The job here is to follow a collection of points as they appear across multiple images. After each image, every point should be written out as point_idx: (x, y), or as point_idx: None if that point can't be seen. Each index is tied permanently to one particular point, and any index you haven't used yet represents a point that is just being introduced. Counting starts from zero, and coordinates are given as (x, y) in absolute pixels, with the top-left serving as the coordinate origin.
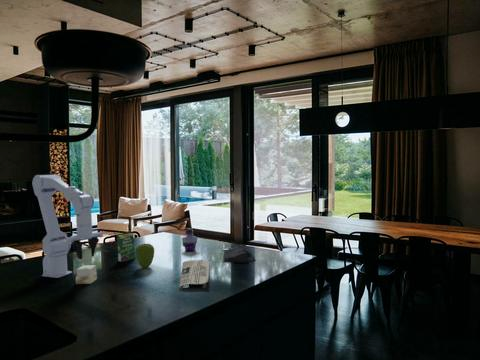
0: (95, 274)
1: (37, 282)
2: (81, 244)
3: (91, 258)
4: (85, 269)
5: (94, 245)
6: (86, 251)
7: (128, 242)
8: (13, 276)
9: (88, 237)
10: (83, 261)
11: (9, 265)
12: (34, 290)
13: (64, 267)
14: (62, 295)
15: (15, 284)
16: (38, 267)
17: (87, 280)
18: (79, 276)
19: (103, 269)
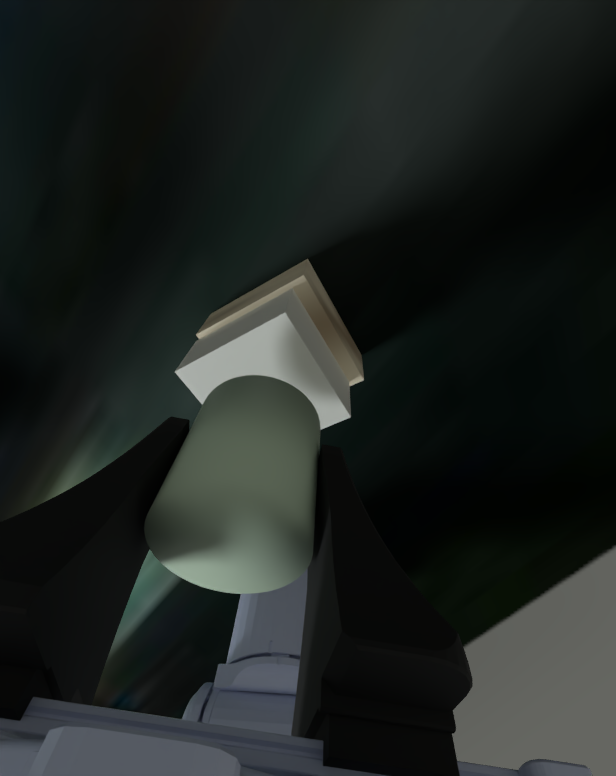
0: (219, 318)
1: (429, 547)
2: (356, 615)
3: (215, 397)
4: (310, 352)
5: (86, 510)
6: (267, 474)
7: None
8: None
9: (176, 765)
10: (313, 412)
11: None
12: (545, 468)
13: None
14: (610, 217)
15: (486, 595)
16: None
17: (319, 290)
18: (340, 367)
19: (77, 434)
